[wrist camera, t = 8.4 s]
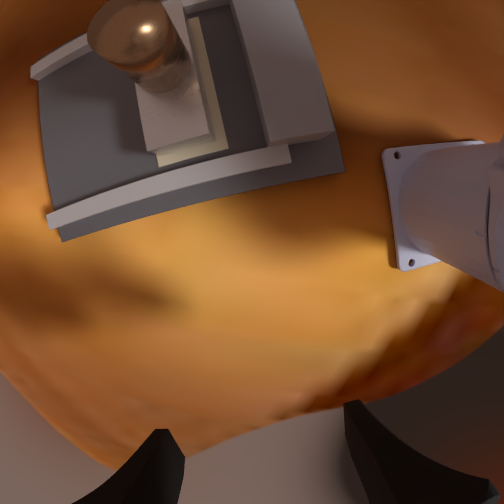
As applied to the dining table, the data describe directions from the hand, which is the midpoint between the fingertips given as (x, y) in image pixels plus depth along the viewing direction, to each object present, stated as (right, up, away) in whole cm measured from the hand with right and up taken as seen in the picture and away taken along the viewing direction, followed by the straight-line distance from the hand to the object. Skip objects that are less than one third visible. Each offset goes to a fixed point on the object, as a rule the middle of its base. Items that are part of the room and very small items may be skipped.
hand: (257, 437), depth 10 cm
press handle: (-4, +17, +4) cm, 18 cm away
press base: (-5, +17, +6) cm, 19 cm away
